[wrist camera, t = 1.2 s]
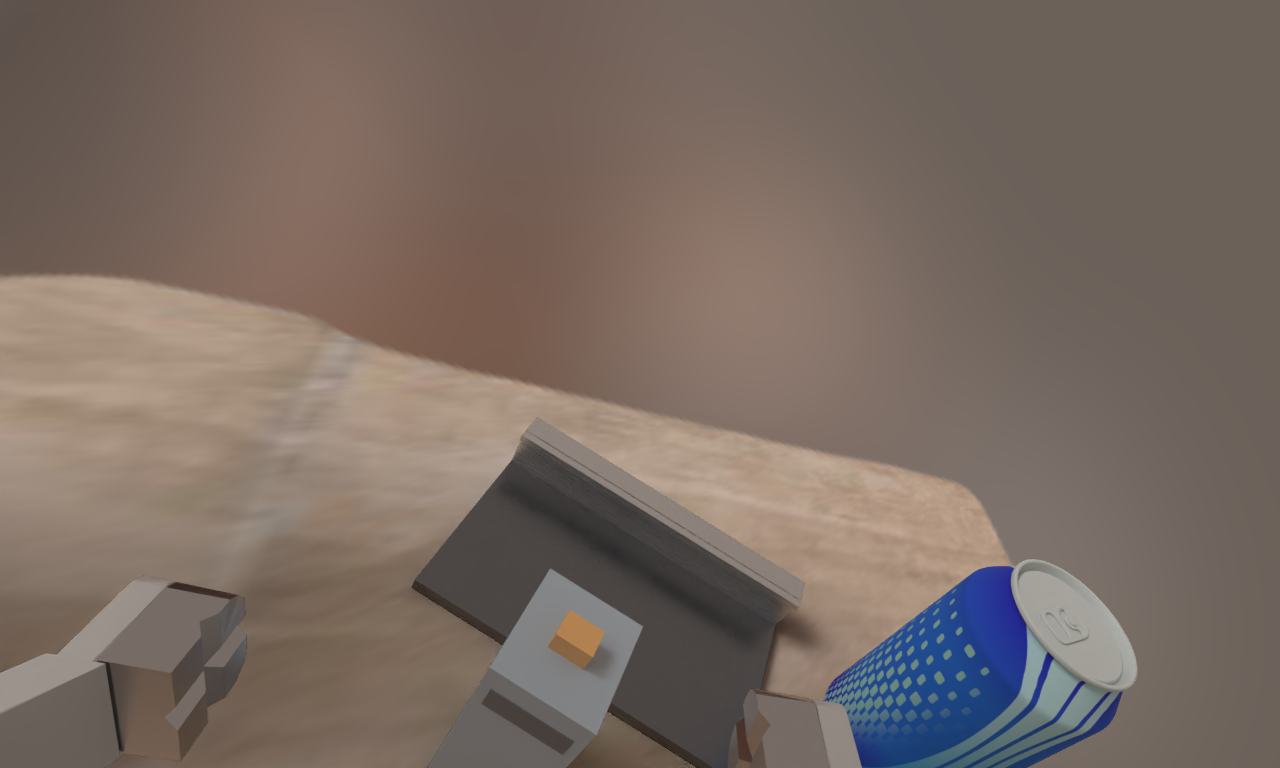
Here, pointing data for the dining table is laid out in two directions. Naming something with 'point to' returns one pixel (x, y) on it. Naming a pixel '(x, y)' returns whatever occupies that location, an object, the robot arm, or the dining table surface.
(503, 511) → the rail plate
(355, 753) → the dining table surface
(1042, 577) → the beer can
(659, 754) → the dining table surface
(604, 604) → the module
